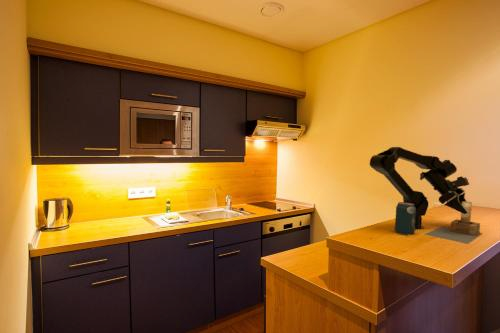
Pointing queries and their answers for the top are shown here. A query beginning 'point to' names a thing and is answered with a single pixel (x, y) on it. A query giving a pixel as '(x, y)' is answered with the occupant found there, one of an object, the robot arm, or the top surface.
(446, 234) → the mat
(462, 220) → the peg
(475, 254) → the top surface
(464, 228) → the hole block
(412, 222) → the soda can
